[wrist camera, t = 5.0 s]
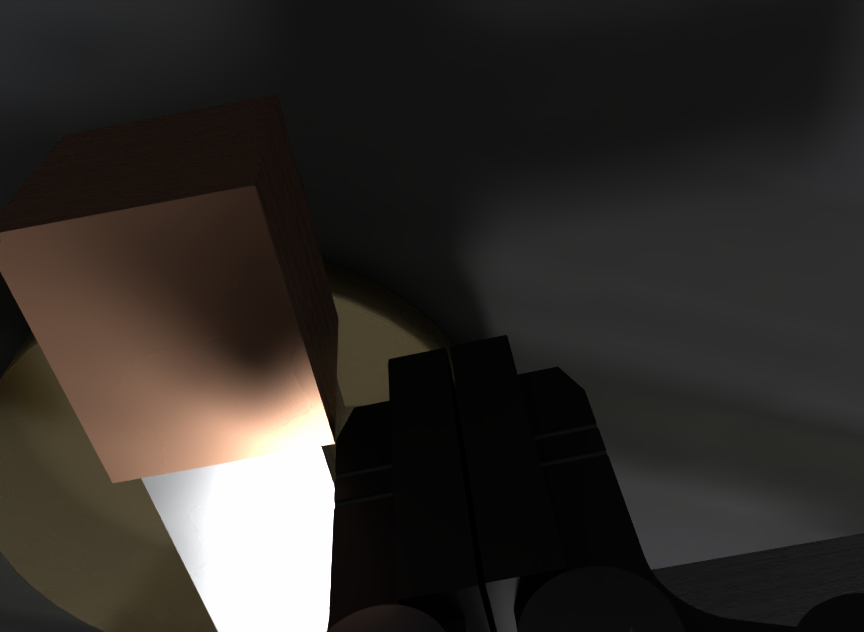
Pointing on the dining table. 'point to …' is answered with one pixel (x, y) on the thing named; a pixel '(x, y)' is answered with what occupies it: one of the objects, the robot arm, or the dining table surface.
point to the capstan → (222, 390)
